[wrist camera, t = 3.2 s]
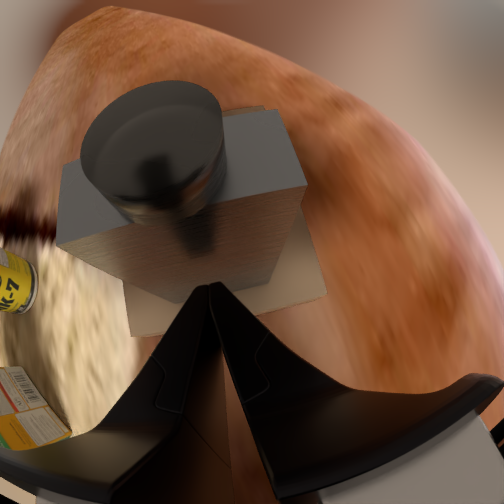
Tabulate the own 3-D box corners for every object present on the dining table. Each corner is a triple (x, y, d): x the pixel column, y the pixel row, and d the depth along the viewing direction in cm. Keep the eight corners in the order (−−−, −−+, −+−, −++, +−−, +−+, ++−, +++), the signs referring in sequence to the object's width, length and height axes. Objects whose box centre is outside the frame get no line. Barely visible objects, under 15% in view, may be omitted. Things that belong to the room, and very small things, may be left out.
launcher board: (314, 300, 17) (327, 293, 14) (149, 336, 16) (131, 336, 14) (261, 130, 21) (263, 105, 18) (131, 160, 20) (118, 138, 17)
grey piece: (269, 287, 14) (328, 154, 4) (176, 307, 14) (18, 235, 3) (258, 244, 15) (279, 61, 4) (168, 264, 15) (38, 129, 4)
